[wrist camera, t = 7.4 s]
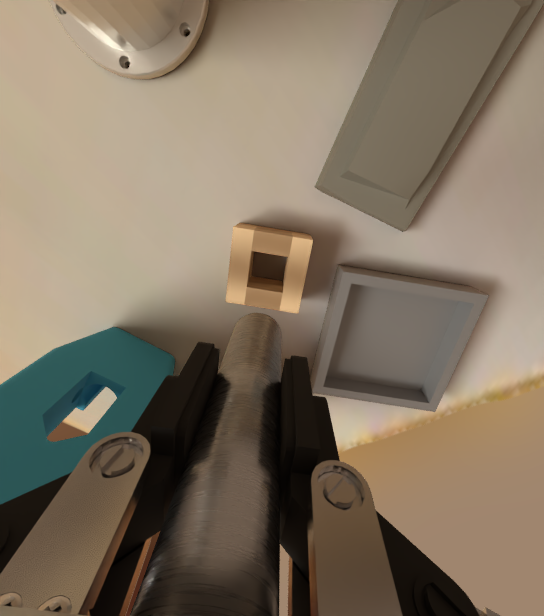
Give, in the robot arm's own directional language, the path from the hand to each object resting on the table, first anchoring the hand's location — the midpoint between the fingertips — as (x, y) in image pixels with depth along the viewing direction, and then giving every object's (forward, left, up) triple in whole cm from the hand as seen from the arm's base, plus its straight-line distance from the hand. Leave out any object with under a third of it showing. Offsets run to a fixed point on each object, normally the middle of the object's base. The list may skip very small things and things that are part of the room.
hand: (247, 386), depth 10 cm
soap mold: (-16, +10, -22) cm, 29 cm away
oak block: (0, 0, -21) cm, 21 cm away
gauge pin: (0, 0, -4) cm, 4 cm away
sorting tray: (+6, +14, -21) cm, 26 cm away
